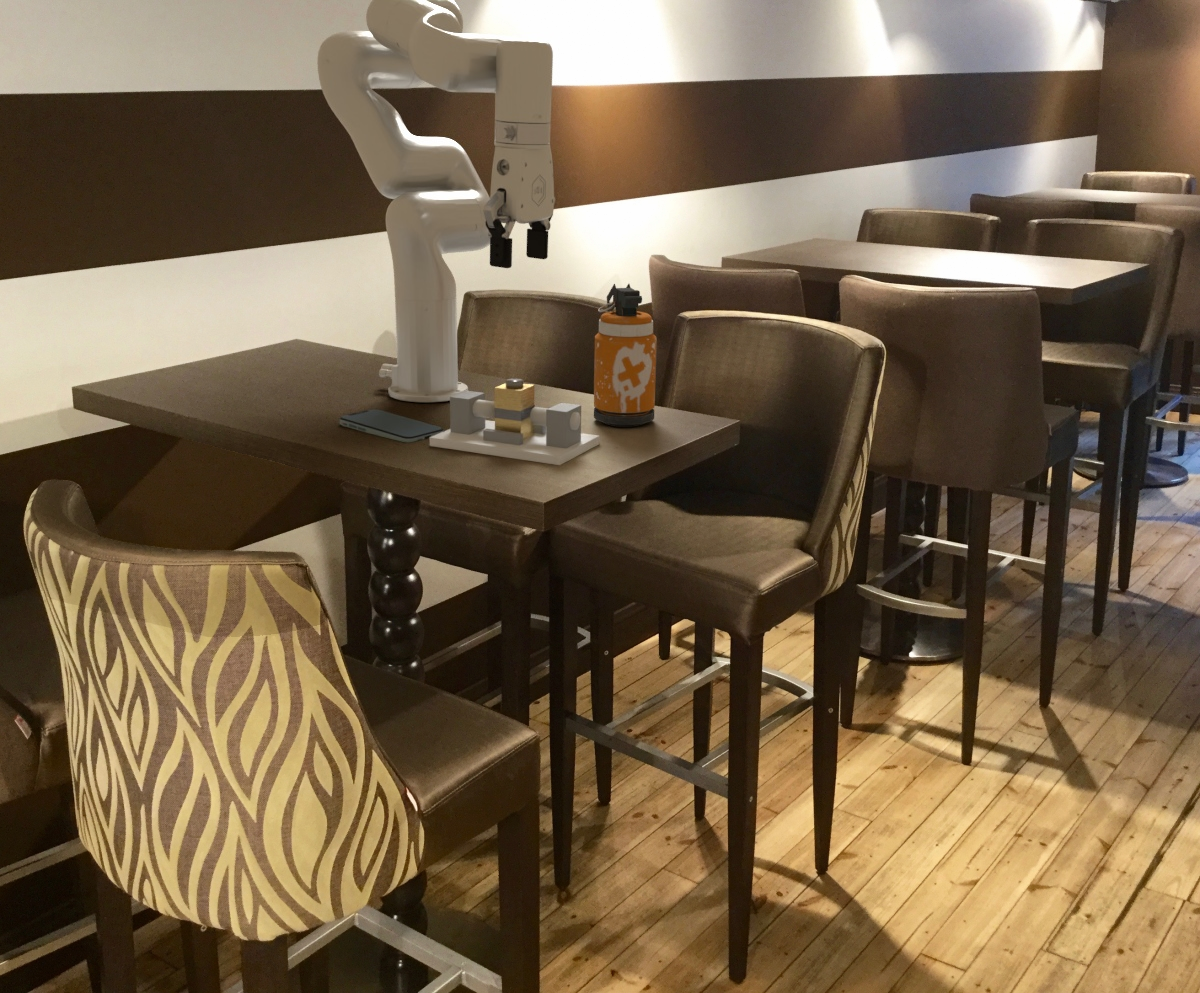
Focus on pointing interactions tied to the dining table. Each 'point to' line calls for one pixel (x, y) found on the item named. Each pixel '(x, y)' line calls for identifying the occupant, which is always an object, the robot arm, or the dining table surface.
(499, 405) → the block
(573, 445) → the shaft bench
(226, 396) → the dining table surface
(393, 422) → the smartphone
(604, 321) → the canister
